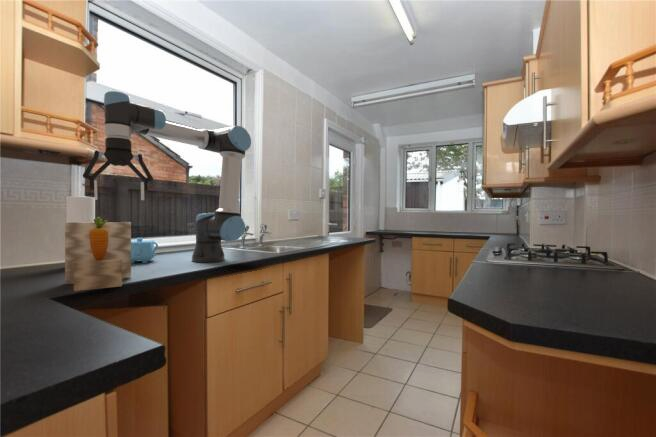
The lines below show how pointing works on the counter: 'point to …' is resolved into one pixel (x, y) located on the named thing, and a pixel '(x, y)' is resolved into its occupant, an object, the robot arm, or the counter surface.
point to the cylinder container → (80, 209)
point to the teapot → (142, 250)
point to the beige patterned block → (84, 265)
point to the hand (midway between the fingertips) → (120, 200)
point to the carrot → (99, 239)
